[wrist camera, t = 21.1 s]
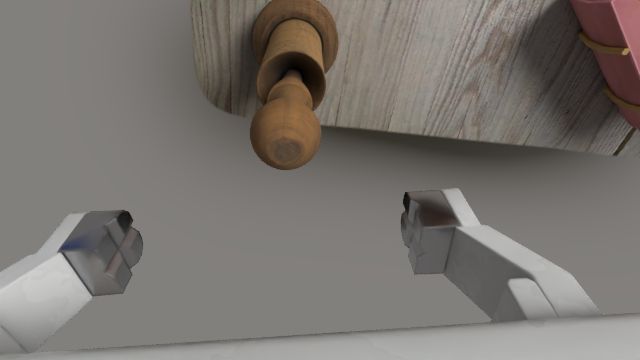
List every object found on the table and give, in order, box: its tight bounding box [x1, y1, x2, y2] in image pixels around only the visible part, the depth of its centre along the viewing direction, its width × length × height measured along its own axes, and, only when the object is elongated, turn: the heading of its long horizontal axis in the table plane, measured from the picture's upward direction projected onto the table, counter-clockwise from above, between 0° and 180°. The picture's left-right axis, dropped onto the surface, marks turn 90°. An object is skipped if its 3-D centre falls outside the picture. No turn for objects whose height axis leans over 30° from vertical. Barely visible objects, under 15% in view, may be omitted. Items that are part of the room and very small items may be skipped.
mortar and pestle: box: [250, 0, 338, 170], centre depth 21 cm, size 7×6×18 cm
